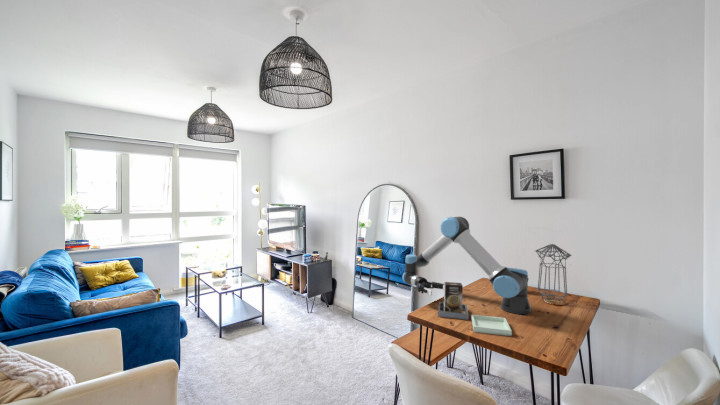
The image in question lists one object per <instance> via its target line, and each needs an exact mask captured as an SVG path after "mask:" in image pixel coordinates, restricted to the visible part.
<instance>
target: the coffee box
mask: <svg viewBox="0 0 720 405" xmlns="http://www.w3.org/2000/svg"><path fill="white" fill-rule="evenodd" d="M443 284H444V290H443V302H444V308H443V311H450V312H459V313H463V310H462V304H463V293H464V291H463V289H464V288H463V287H464V286H463V284H462V283H461V282H450V281H443Z"/></svg>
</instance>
